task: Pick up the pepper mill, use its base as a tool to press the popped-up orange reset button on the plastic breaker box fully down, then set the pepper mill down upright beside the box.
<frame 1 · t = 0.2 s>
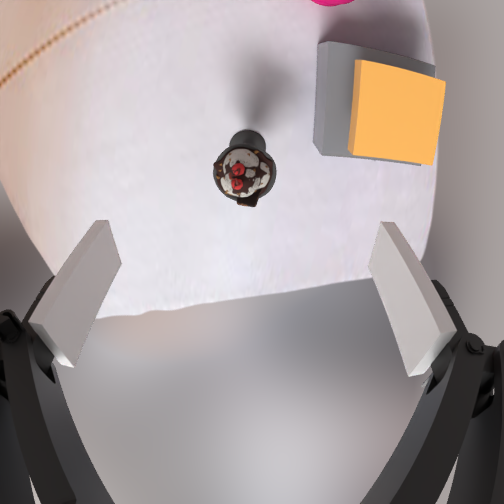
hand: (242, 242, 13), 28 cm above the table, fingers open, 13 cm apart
sundae: (247, 146, 38), on the table
breaker box: (365, 99, 33), on the table
reset button: (389, 109, 26), point 8 cm above the table, slide at 3.0 cm
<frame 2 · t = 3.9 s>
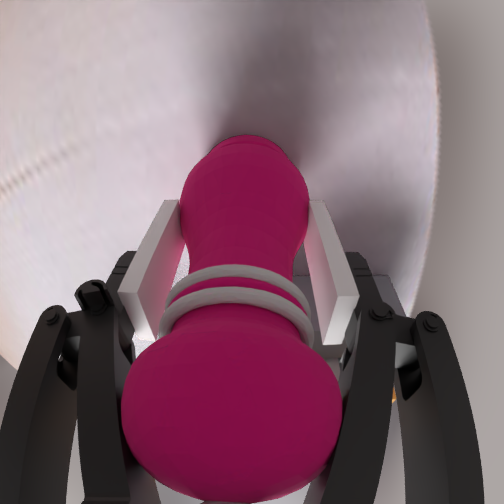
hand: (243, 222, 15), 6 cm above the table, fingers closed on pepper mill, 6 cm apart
breaker box: (306, 325, 29), on the table
reset button: (315, 393, 23), point 8 cm above the table, slide at 3.0 cm
pepper mill: (247, 176, 20), on the table, touching gripper
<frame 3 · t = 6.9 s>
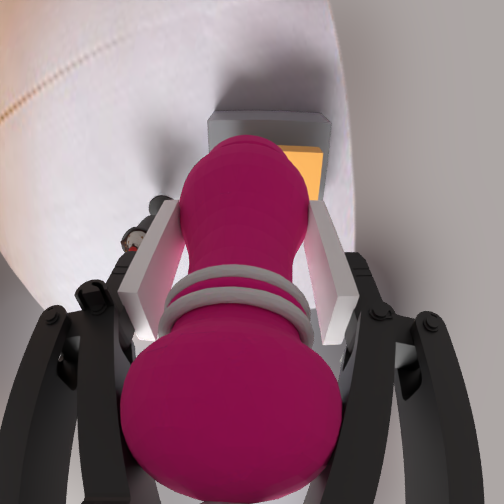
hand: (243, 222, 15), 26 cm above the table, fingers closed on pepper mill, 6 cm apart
sundae: (163, 208, 44), on the table
breaker box: (266, 158, 39), on the table
reset button: (269, 182, 33), point 8 cm above the table, slide at 3.0 cm
pepper mill: (247, 176, 20), point 20 cm above the table, touching gripper
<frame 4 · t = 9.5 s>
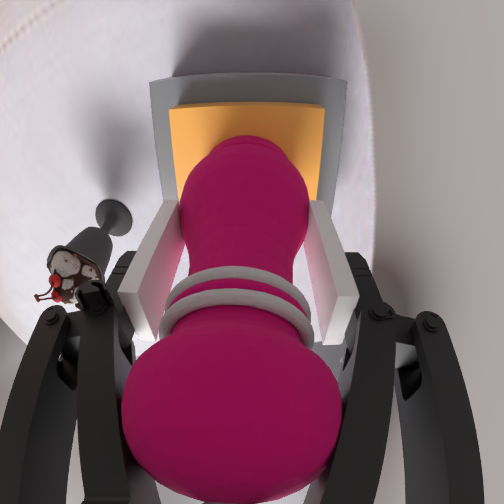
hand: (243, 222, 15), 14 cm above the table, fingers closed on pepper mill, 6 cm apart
sundae: (113, 217, 31), on the table
breaker box: (249, 143, 26), on the table
reset button: (248, 159, 22), point 5 cm above the table, slide at -0.2 cm, touching pepper mill
pepper mill: (247, 176, 20), point 8 cm above the table, touching gripper, reset button
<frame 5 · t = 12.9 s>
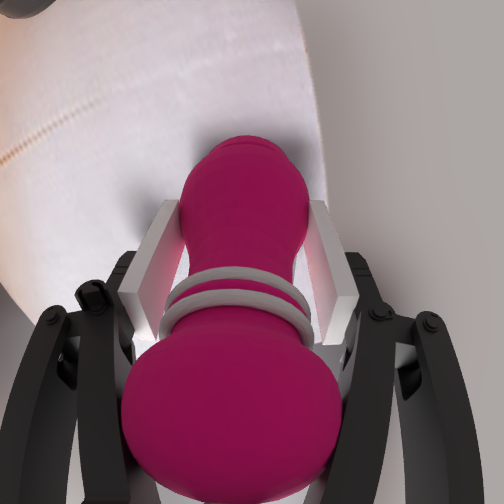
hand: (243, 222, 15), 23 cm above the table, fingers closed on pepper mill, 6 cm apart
pepper mill: (247, 176, 20), point 17 cm above the table, touching gripper
when the fingers open (7 cm above the table, at t = 15.9 s): pepper mill drops 1 cm, on the table.
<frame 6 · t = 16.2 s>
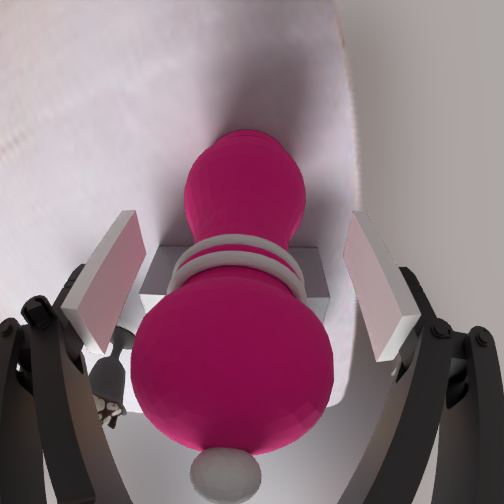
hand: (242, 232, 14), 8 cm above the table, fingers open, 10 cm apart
sundae: (121, 336, 34), on the table
breaker box: (238, 302, 29), on the table
pepper mill: (247, 168, 21), on the table
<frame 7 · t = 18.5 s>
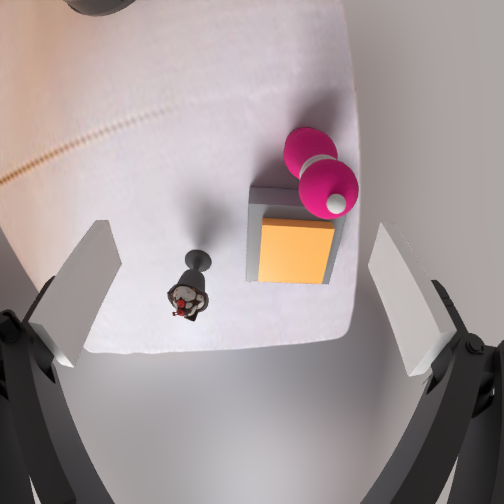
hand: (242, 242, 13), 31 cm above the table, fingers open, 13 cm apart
sundae: (198, 260, 53), on the table
breaker box: (289, 227, 48), on the table
reset button: (292, 243, 45), point 5 cm above the table, slide at -0.2 cm
pepper mill: (305, 146, 40), on the table
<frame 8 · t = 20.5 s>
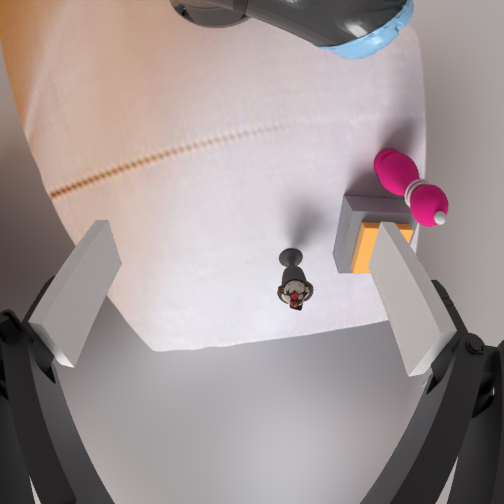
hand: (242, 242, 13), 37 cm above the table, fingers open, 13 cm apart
sundae: (290, 257, 61), on the table
breaker box: (370, 227, 56), on the table
reset button: (377, 240, 52), point 5 cm above the table, slide at -0.2 cm
pepper mill: (388, 163, 47), on the table
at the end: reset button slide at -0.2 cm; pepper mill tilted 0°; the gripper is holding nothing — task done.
